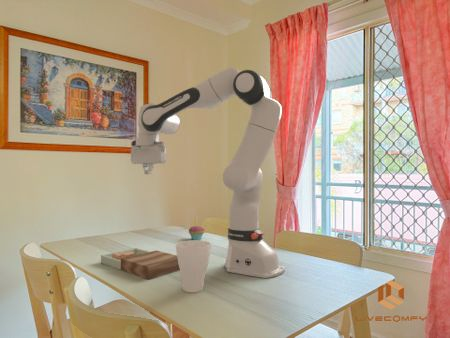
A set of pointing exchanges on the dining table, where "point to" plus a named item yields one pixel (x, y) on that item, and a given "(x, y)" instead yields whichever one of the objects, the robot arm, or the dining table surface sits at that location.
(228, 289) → the dining table surface
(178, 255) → the cup
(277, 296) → the dining table surface
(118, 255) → the tile
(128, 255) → the tile
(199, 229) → the cupcake
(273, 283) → the dining table surface
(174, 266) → the board
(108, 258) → the tray
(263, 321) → the dining table surface
